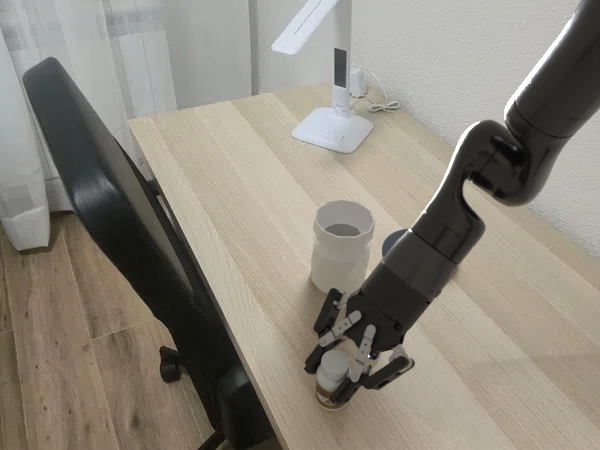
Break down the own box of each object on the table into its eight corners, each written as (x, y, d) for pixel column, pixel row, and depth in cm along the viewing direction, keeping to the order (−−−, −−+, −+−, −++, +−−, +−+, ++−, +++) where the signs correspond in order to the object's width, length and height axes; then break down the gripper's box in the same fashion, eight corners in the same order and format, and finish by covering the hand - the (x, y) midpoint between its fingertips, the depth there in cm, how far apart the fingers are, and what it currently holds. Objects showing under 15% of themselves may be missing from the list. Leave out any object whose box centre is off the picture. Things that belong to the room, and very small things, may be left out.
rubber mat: (443, 228, 96) (443, 226, 95) (465, 278, 87) (465, 277, 86) (375, 231, 95) (375, 229, 94) (390, 282, 86) (391, 281, 85)
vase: (299, 269, 87) (301, 211, 79) (343, 249, 91) (350, 192, 83) (331, 305, 82) (337, 246, 74) (377, 282, 86) (387, 224, 78)
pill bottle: (311, 408, 69) (313, 372, 64) (318, 378, 72) (321, 342, 67) (345, 416, 68) (351, 380, 63) (351, 386, 72) (357, 350, 66)
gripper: (354, 234, 66) (270, 344, 68) (443, 311, 57) (343, 433, 59) (382, 250, 72) (303, 349, 74) (466, 321, 63) (374, 432, 65)
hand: (321, 386), depth 67 cm, fingers closed on pill bottle, 4 cm apart
